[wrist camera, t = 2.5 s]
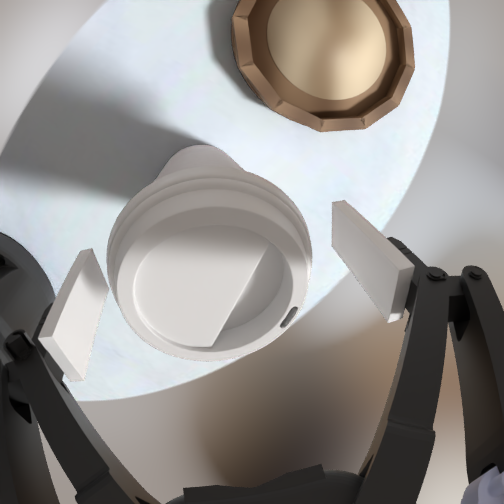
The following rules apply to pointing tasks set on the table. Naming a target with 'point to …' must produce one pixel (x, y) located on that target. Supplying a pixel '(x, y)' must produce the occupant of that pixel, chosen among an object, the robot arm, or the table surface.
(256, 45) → the polygonal wooden dish
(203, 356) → the coffee cup
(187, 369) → the table surface
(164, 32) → the table surface
